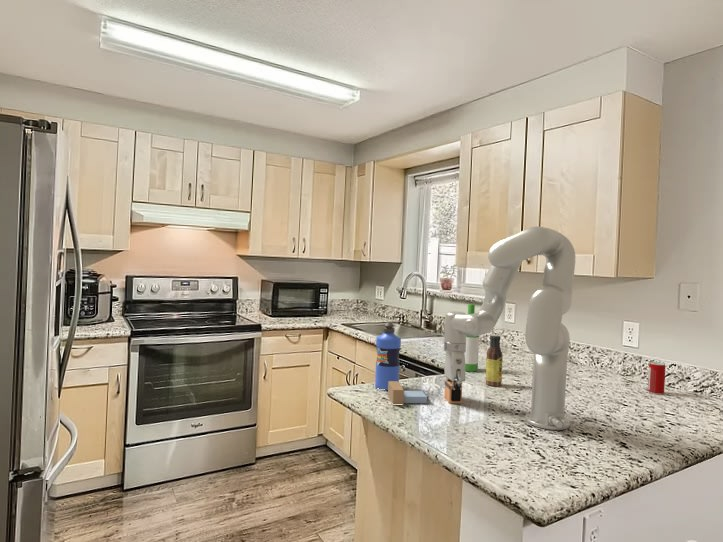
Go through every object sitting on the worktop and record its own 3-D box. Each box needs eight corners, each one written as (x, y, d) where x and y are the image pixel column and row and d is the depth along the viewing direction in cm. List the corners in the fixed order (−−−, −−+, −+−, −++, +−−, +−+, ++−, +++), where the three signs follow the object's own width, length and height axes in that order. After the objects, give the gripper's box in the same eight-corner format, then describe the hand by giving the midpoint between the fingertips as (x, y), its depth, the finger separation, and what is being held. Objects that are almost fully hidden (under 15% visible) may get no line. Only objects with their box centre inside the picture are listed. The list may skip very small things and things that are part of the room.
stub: (461, 403, 157) (462, 385, 157) (449, 403, 157) (449, 385, 157) (456, 398, 163) (456, 381, 163) (444, 398, 163) (444, 381, 163)
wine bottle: (474, 373, 202) (477, 305, 201) (457, 370, 206) (460, 304, 205) (479, 369, 208) (482, 304, 208) (463, 367, 212) (465, 302, 212)
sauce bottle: (502, 387, 179) (504, 337, 179) (485, 386, 181) (487, 336, 180) (500, 383, 186) (502, 334, 185) (484, 382, 187) (486, 333, 187)
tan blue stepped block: (429, 405, 154) (430, 390, 154) (392, 405, 152) (393, 390, 152) (422, 395, 165) (422, 381, 165) (387, 395, 163) (388, 381, 163)
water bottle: (386, 382, 181) (388, 319, 180) (404, 388, 174) (406, 322, 173) (369, 386, 174) (371, 321, 173) (387, 392, 167) (390, 324, 167)
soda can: (667, 395, 176) (668, 364, 176) (652, 394, 177) (654, 363, 176) (658, 391, 182) (660, 361, 182) (644, 390, 182) (646, 360, 182)
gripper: (473, 352, 151) (471, 406, 152) (457, 342, 169) (455, 391, 169) (451, 351, 151) (449, 406, 151) (437, 342, 168) (435, 390, 168)
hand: (452, 397), depth 160 cm, fingers closed on stub, 6 cm apart
